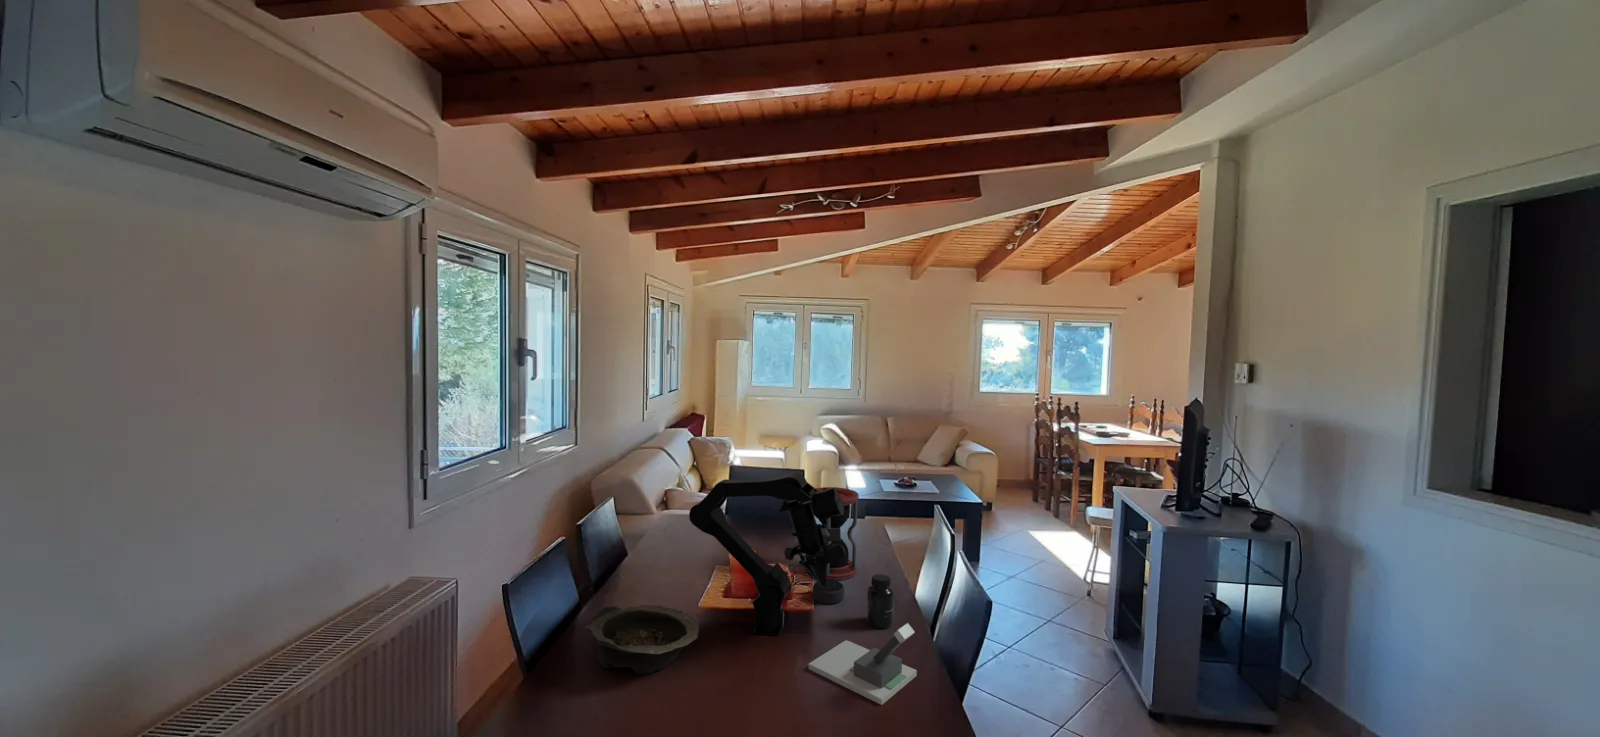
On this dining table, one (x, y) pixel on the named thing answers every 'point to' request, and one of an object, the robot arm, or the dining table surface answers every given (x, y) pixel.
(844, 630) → the dining table surface
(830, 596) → the smart speaker
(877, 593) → the supplement bottle
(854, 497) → the hourglass
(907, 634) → the breaker lever
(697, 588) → the dining table surface
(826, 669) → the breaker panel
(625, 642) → the stone bowl
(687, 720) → the dining table surface
